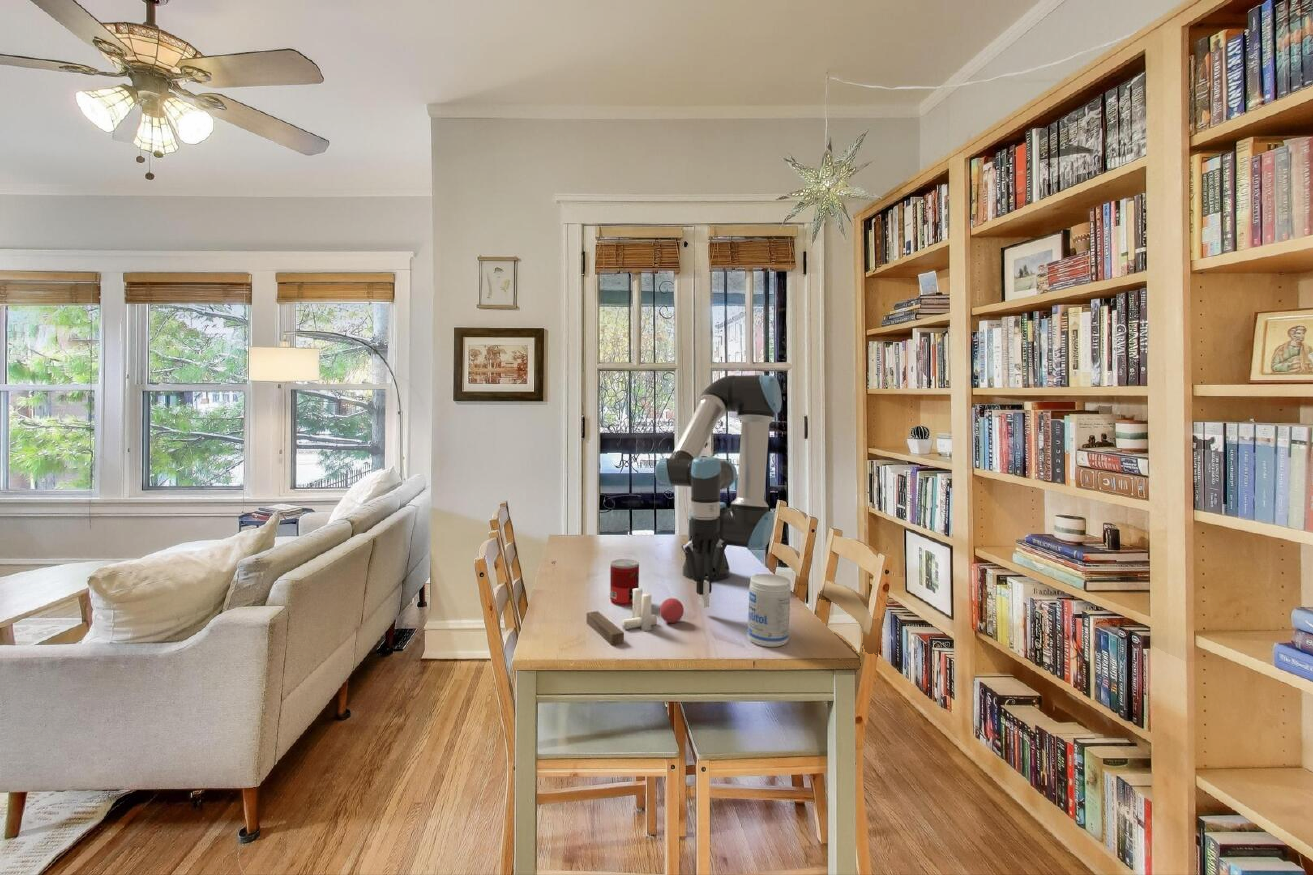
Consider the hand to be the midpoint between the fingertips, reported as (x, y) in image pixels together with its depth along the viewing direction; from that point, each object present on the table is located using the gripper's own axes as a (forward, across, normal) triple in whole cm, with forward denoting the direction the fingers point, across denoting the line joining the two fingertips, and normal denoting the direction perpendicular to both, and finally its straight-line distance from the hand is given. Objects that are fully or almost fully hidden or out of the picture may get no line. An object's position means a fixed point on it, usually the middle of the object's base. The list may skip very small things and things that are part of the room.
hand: (703, 605), depth 163 cm
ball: (-1, -10, -1) cm, 10 cm away
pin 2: (+2, -18, -3) cm, 19 cm away
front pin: (+1, -15, 0) cm, 15 cm away
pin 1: (+2, -18, +2) cm, 19 cm away
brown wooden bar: (+2, -28, 0) cm, 28 cm away
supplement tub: (+3, +5, -21) cm, 22 cm away
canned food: (+3, -14, +19) cm, 24 cm away
